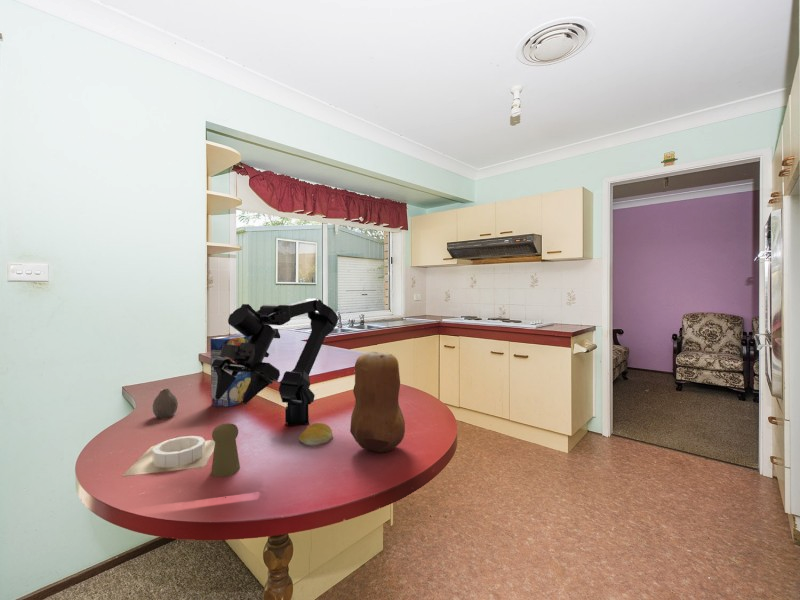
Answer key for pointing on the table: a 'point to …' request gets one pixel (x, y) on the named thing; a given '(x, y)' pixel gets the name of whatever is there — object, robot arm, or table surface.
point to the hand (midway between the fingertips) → (230, 401)
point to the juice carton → (242, 379)
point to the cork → (225, 451)
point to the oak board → (147, 466)
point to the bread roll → (316, 434)
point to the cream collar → (178, 451)
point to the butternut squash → (377, 403)
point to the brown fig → (165, 404)
